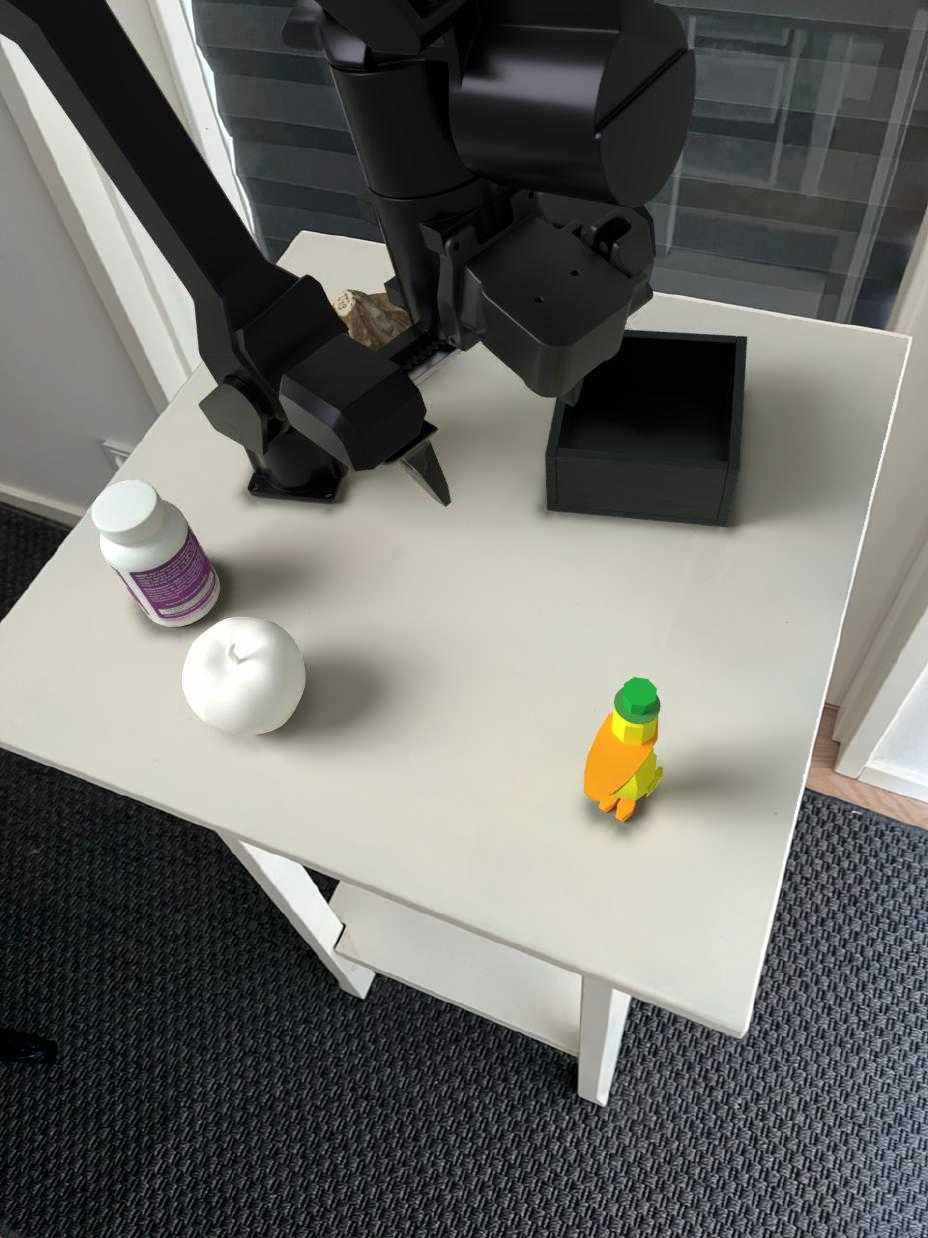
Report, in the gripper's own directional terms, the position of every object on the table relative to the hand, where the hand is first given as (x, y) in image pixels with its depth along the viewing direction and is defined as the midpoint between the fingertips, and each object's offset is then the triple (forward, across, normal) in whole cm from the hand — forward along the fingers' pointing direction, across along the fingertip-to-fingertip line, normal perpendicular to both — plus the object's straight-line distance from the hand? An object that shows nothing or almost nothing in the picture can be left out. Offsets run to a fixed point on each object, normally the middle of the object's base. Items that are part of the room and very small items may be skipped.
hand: (507, 450), depth 49 cm
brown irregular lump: (+9, +6, +26) cm, 28 cm away
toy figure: (+15, -7, -12) cm, 20 cm away
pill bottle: (+10, -16, +18) cm, 26 cm away
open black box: (+13, +14, +4) cm, 19 cm away
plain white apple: (+12, -17, +7) cm, 22 cm away
